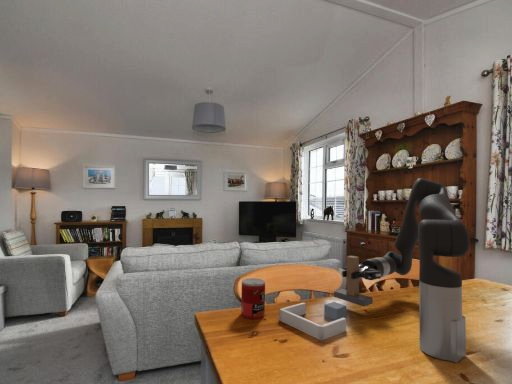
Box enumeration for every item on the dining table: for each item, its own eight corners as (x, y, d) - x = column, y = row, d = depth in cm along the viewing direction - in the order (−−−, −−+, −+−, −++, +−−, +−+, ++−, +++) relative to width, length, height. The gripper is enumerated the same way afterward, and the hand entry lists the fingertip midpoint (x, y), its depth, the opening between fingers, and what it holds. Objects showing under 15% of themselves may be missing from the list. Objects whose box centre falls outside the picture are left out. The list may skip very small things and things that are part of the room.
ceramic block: (346, 318, 96) (346, 305, 96) (337, 321, 93) (337, 309, 93) (333, 313, 100) (333, 301, 100) (324, 316, 97) (324, 304, 97)
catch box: (346, 330, 86) (346, 318, 86) (321, 340, 79) (321, 327, 79) (303, 312, 99) (303, 302, 99) (279, 320, 93) (279, 309, 93)
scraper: (372, 303, 99) (372, 258, 99) (364, 306, 96) (363, 260, 96) (342, 294, 109) (342, 253, 109) (334, 296, 106) (334, 254, 106)
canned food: (255, 321, 91) (256, 285, 92) (236, 315, 96) (236, 281, 97) (269, 314, 97) (270, 280, 98) (250, 308, 102) (251, 276, 103)
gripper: (358, 255, 117) (331, 260, 106) (393, 261, 106) (366, 268, 95) (358, 274, 117) (331, 281, 106) (393, 282, 106) (366, 291, 95)
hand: (347, 275), depth 101 cm, fingers closed on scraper, 3 cm apart
